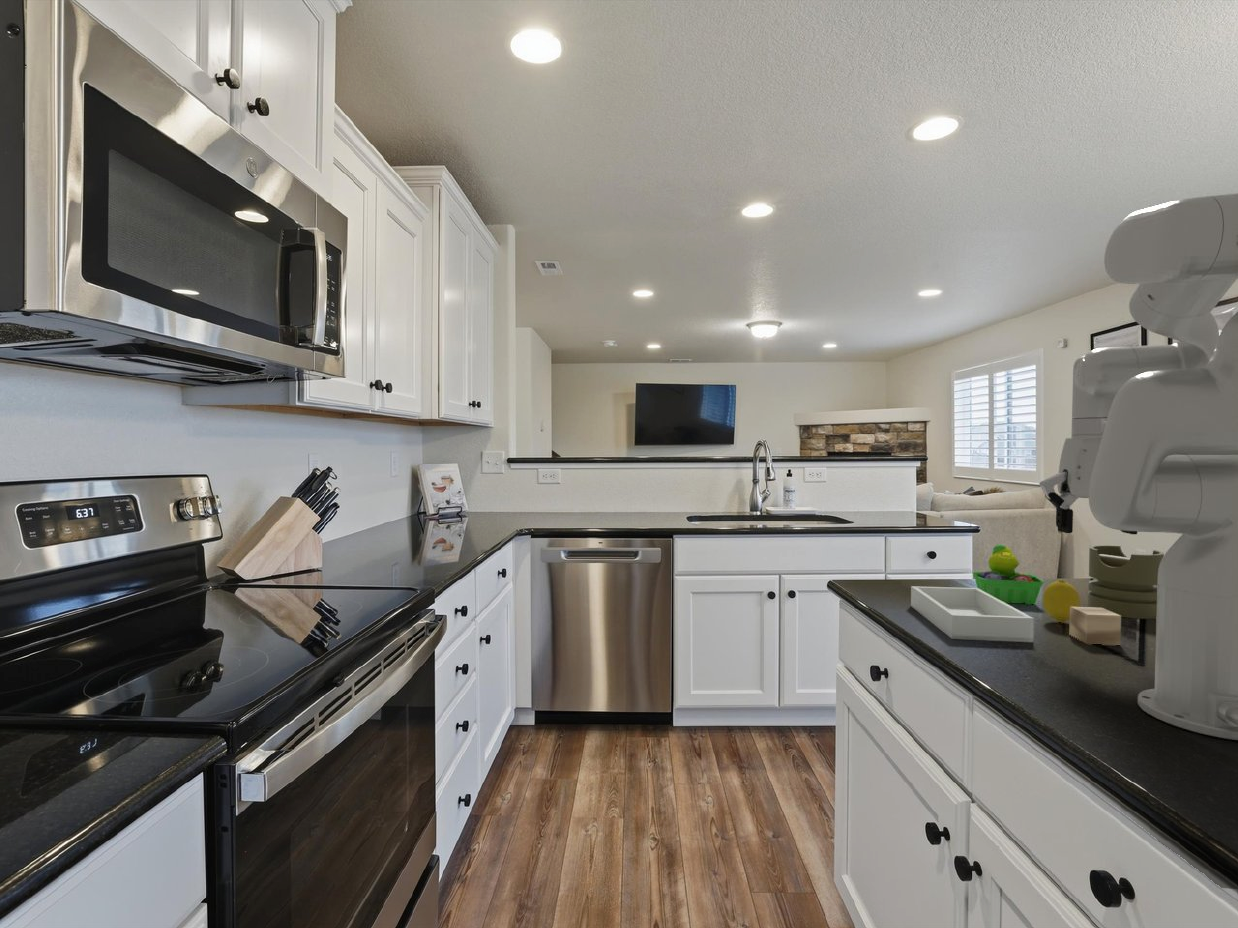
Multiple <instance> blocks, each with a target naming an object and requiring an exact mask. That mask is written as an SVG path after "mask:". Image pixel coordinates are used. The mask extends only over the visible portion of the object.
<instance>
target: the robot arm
mask: <svg viewBox="0 0 1238 928" xmlns="http://www.w3.org/2000/svg"><path fill="white" fill-rule="evenodd" d="M1103 263H1104V269H1105V272H1106V273H1107V275H1108V276H1109V278H1110V279H1111V280H1113V281H1114V282H1116V283H1119V284H1126V285H1127V284H1128V285H1138V286H1137V288H1136V289H1135V291H1134V292H1133V293H1132V295H1131V298H1130V300H1129V302H1128V303H1129V304H1128V305H1129V306H1128V309H1129V313H1130V316H1131V317H1132V319H1133V320H1134V322H1135V323H1137V324H1138V325H1140V327H1142V328H1143V329H1145V330H1147V331H1150V332H1151V333H1154V334H1156V335H1160V336H1163V337H1166V338H1169V339H1172V340H1175V341H1176V342H1175V343H1172V344H1157V345H1156V344H1153V345H1150V344H1149V345H1136V346H1135V345H1134V346H1133V345H1132V346H1112V347H1111V346H1109V347H1098V348H1095V349H1092V350H1090V351H1088V352H1087V353H1086V354H1085V355H1083V356H1080V357H1078V358H1077V359H1075V361H1074V363H1073V368H1072V404H1071V407H1072V408H1071V436H1070V437H1071V438H1070V437H1067V438H1066V437H1065V440H1064V443H1063V445H1062V450H1061V454H1060V459H1059V466H1058V473H1057V474H1055V475H1052V476H1050V477H1048V478H1046V479H1044V480H1041V481H1040V482H1039V487H1040V489H1041V490H1042V492H1043V493H1044V496H1045V497H1044V498H1046V499H1047V500H1048V501H1049V502H1050V503H1051V504H1052V506H1053V507H1054V508H1056V509H1055V512H1056V513H1055V526H1056V528H1057V531H1058V532H1061V533H1065V534H1072V533H1073V532H1074V530H1073V527H1074V526H1073V524H1074V521H1073V520H1074V511H1073V509H1072V508H1071V506H1072V505H1073V504H1074V503H1075V502H1076V501H1077V500H1078V499H1079V498H1080V499H1088V504H1089V508H1090V512H1091V513H1092V516H1093V517H1094V519H1095V520H1096V521H1097V522H1098V523H1099V524H1101V525H1102V526H1104V527H1107V528H1109V529H1112V530H1117V531H1120V532H1122V533H1125V534H1129V535H1137V534H1138V532H1140V533H1141V532H1143V533H1164V534H1165V533H1168V534H1169V533H1170V534H1181V535H1180V536H1179V538H1177V539H1176V541H1174V543H1173V544H1172V545H1171V546H1170V547H1169V549H1167V551H1166V552H1165V554H1164V556H1163V558H1162V560H1161V562H1160V565H1159V569H1158V585H1156V587H1157V616H1156V619H1155V621H1156V622H1155V632H1156V633H1155V657H1154V658H1155V660H1154V661H1155V662H1154V688H1151V689H1150V688H1149V689H1144V690H1142V691H1140V692H1139V693H1138V694H1137V704H1138V706H1139V708H1141V710H1143V711H1144V712H1146V714H1148V715H1150V716H1152V717H1154V718H1155V719H1157V720H1160V721H1162V722H1163V723H1164V722H1165V723H1166V724H1169V725H1171V726H1175V727H1177V728H1181V729H1185V730H1187V731H1190V732H1194V733H1198V734H1201V735H1202V734H1203V735H1206V736H1211V737H1215V738H1220V739H1227V740H1231V741H1232V740H1233V741H1238V311H1236V312H1235V314H1233V315H1232V316H1231V317H1230V319H1229V320H1228V321H1227V322H1226V323H1225V325H1224V326H1223V328H1222V329H1221V331H1220V330H1219V325H1218V322H1217V321H1216V319H1215V317H1214V315H1213V314H1212V311H1213V310H1214V309H1215V307H1216V306H1217V304H1218V303H1219V302H1220V301H1221V300H1222V298H1223V297H1224V296H1225V295H1226V293H1227V292H1228V291H1229V290H1230V288H1231V287H1232V286H1233V284H1234V283H1235V282H1236V281H1237V280H1238V193H1229V194H1219V195H1218V194H1217V195H1207V196H1200V197H1191V198H1190V197H1189V198H1183V199H1176V200H1173V201H1168V202H1166V203H1162V204H1159V205H1154V206H1151V207H1146V208H1144V209H1139V210H1136V211H1134V212H1132V213H1130V214H1129V215H1127V216H1126V217H1125V218H1124V219H1122V221H1121V222H1119V223H1118V224H1117V226H1116V227H1115V229H1114V230H1113V231H1112V234H1111V236H1110V237H1109V239H1108V242H1107V244H1106V247H1105V253H1104V261H1103ZM1056 485H1057V491H1058V493H1059V494H1058V493H1057V492H1056V490H1055V489H1054V488H1055V486H1056Z"/></svg>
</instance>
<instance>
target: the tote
mask: <svg viewBox="0 0 1238 928" xmlns="http://www.w3.org/2000/svg"><path fill="white" fill-rule="evenodd" d="M910 588H911V589H910V606H911V608H913V609H914V610H915V611H917V612H918V613H919V614H920V615H922V616H923V617H924V618H925V619H927V620H928V621H929V622H930V623H931V624H933V625H934V626H935V627H936V628H937V629H939V630H940V631H941V632H943V633H944V634H945V635H946V636H948V637H949V638H950V639H951V640H967V641H968V640H971V641H972V640H973V641H991V642H993V641H994V642H1015V643H1016V642H1019V643H1034V631H1035V630H1034V629H1035V628H1034V625H1035V624H1034V622H1035V619H1034V617H1032V616H1030V615H1028V614H1027V613H1025V612H1023V611H1021V610H1019V609H1018V608H1015V607H1014V606H1012V605H1010V604H1009V603H1005V602H1003V601H1001V600H999V599H997V598H995V597H993V596H992V595H990V594H988V593H986V592H984V591H982V590H980V589H979V588H977V587H976V588H975V587H951V586H950V587H947V586H946V587H944V586H942V587H941V586H913V585H911V587H910Z"/></svg>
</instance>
